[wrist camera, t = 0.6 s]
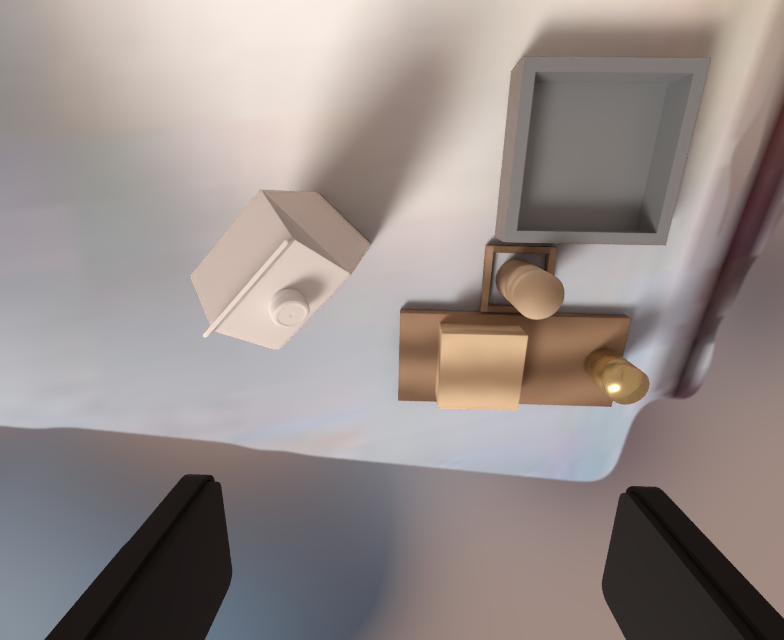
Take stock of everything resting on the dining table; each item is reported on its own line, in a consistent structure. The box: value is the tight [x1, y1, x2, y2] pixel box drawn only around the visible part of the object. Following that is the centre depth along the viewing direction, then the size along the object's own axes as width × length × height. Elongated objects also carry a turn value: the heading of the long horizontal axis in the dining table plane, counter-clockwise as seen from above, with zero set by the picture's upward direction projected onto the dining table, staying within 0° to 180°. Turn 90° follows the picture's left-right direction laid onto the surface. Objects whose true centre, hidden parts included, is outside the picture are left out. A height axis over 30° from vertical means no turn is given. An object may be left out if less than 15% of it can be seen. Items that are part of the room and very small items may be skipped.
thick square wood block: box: [435, 323, 528, 411], centre depth 38 cm, size 8×8×3 cm
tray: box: [495, 56, 711, 245], centre depth 32 cm, size 14×14×4 cm
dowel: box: [496, 259, 564, 320], centre depth 34 cm, size 4×4×7 cm
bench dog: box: [584, 348, 649, 404], centre depth 37 cm, size 4×4×5 cm
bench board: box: [398, 310, 631, 407], centre depth 40 cm, size 10×23×1 cm, turn 89°
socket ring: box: [480, 245, 557, 313], centre depth 37 cm, size 7×7×1 cm
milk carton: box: [191, 190, 371, 350], centre depth 28 cm, size 7×7×19 cm
